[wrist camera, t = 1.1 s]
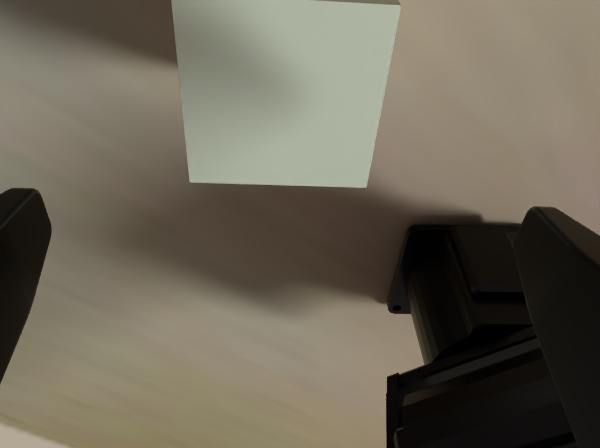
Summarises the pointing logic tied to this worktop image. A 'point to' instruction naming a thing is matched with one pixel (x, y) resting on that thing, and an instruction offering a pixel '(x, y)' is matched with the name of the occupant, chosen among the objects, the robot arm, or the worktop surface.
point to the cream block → (283, 88)
